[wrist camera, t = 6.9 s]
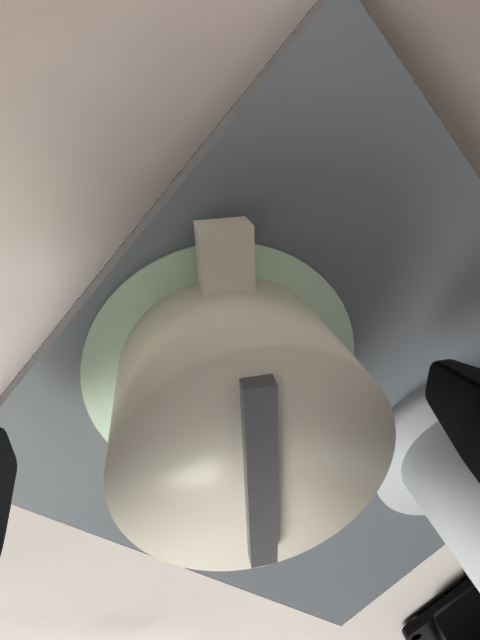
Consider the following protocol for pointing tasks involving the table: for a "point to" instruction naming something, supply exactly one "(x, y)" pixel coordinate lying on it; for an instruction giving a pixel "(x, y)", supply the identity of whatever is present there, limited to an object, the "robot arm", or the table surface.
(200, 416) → the cream rounded dome
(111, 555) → the table surface
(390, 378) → the post board
